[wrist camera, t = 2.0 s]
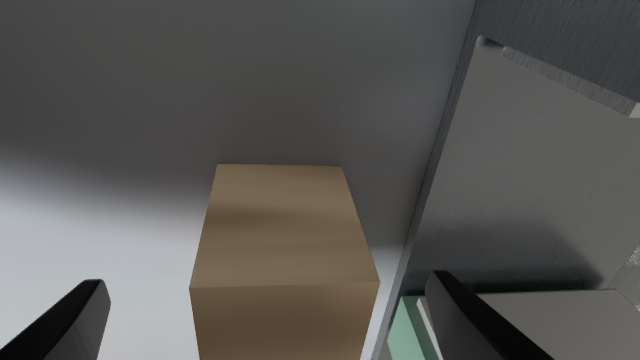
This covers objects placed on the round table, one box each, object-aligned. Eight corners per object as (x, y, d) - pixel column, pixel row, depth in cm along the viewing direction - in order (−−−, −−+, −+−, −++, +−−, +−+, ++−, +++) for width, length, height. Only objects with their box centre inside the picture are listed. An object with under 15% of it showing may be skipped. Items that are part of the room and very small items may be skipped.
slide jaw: (582, 329, 18) (655, 419, 14) (386, 340, 16) (417, 443, 13) (619, 282, 16) (712, 371, 13) (403, 289, 14) (443, 393, 11)
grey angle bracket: (544, 348, 20) (628, 470, 15) (371, 359, 19) (405, 498, 14) (954, -216, 8) (1834, -420, 4) (568, -311, 7) (1221, -859, 2)
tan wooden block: (328, 253, 14) (354, 381, 10) (223, 255, 14) (204, 392, 9) (341, 165, 12) (379, 282, 8) (217, 162, 11) (188, 288, 7)
